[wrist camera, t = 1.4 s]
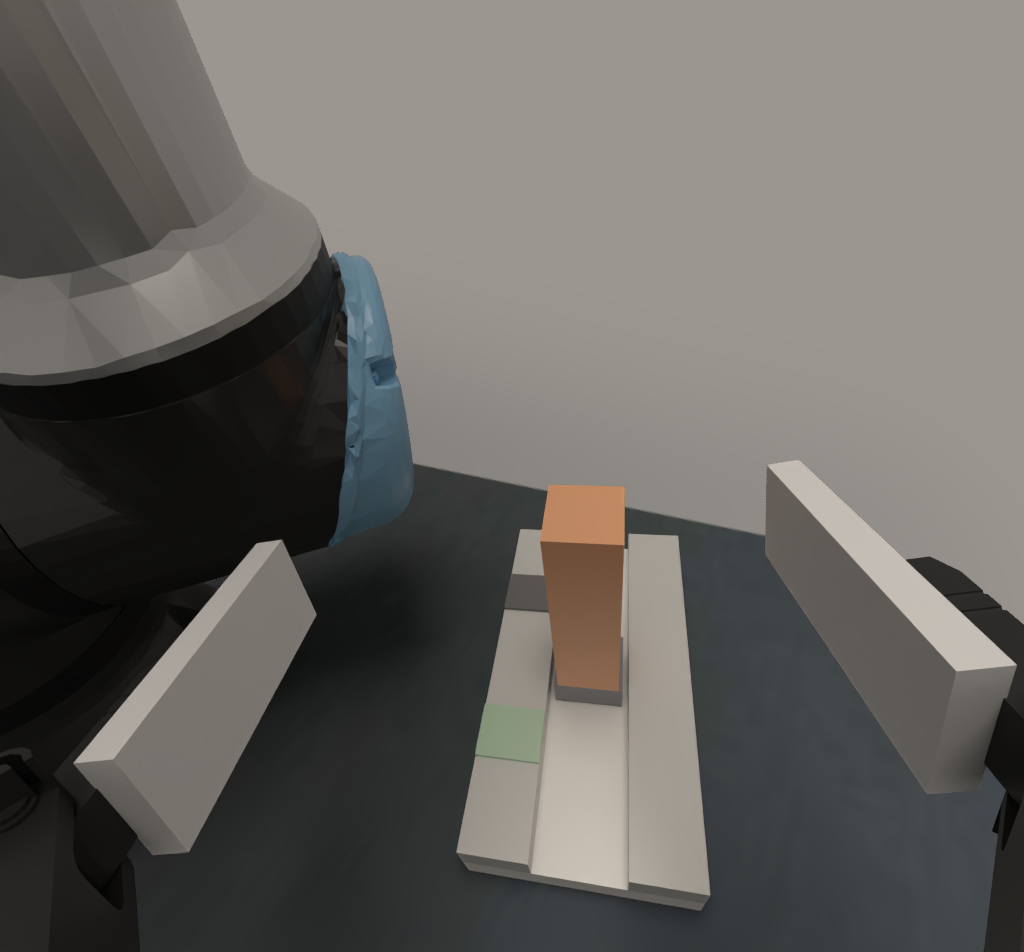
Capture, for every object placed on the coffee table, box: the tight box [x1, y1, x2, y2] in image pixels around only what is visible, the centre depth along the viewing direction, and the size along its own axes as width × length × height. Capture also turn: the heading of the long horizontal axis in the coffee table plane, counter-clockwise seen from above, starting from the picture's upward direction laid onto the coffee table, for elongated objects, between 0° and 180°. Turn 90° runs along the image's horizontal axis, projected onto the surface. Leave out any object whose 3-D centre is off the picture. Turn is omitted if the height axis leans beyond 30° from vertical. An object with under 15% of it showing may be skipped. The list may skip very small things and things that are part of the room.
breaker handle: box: [540, 485, 625, 706], centre depth 24 cm, size 3×3×13 cm
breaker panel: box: [456, 529, 710, 911], centre depth 28 cm, size 18×10×3 cm, turn 171°
